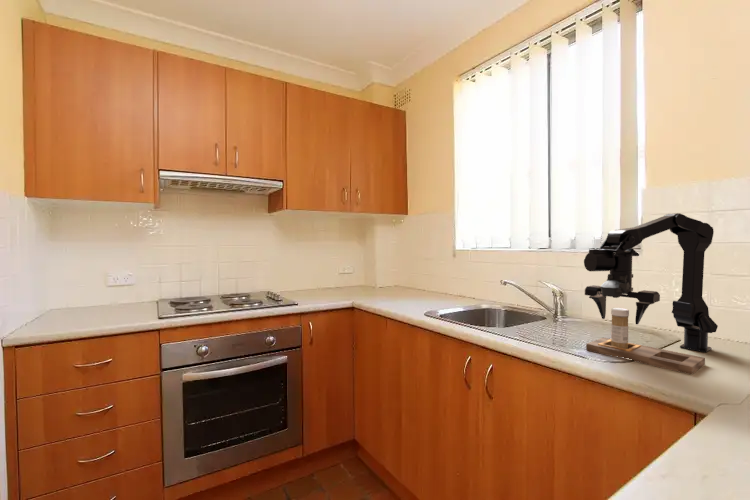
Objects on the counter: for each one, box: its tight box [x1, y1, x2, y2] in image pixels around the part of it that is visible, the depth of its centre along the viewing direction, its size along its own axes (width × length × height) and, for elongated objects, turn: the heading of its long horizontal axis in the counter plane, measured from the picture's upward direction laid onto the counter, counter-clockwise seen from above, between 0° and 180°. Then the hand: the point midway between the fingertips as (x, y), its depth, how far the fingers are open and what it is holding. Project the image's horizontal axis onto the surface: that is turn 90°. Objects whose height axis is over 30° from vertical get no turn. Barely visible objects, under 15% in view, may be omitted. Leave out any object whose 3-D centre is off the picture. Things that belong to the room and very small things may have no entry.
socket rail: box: [585, 337, 706, 375], centre depth 110 cm, size 12×26×2 cm, turn 36°
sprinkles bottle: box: [610, 307, 630, 349], centre depth 115 cm, size 5×5×14 cm
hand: (619, 321), depth 115 cm, fingers open, 9 cm apart
